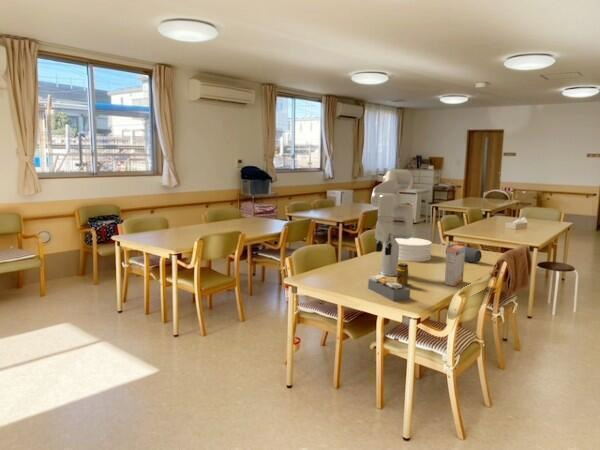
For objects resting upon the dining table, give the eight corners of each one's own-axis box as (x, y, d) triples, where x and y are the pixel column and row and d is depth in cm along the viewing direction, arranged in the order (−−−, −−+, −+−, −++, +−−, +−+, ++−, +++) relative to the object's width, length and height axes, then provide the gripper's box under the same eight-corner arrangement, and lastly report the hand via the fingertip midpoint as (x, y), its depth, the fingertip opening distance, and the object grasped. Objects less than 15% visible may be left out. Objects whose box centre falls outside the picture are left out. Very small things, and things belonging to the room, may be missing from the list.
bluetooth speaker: (444, 258, 322) (445, 244, 320) (452, 256, 327) (453, 243, 326) (473, 264, 304) (474, 250, 302) (481, 263, 309) (482, 248, 308)
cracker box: (453, 279, 266) (455, 244, 263) (463, 281, 263) (466, 246, 259) (443, 284, 256) (446, 248, 252) (454, 286, 252) (457, 249, 249)
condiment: (393, 285, 253) (394, 264, 251) (400, 282, 259) (401, 261, 257) (405, 287, 248) (406, 266, 246) (412, 284, 254) (413, 263, 253)
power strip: (383, 286, 250) (384, 277, 249) (409, 298, 229) (410, 289, 228) (368, 288, 246) (368, 278, 245) (393, 301, 225) (393, 291, 224)
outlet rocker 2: (388, 283, 239) (389, 279, 239) (393, 285, 235) (394, 281, 235) (378, 282, 236) (379, 278, 236) (383, 285, 232) (384, 280, 232)
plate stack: (435, 256, 328) (436, 240, 327) (423, 263, 305) (424, 246, 303) (398, 251, 343) (399, 236, 341) (384, 257, 320) (385, 241, 318)
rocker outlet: (396, 287, 233) (397, 282, 233) (401, 289, 229) (402, 285, 229) (386, 286, 230) (387, 281, 230) (391, 288, 226) (392, 284, 226)
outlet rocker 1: (381, 278, 245) (381, 273, 245) (386, 280, 241) (385, 275, 241) (371, 281, 243) (371, 276, 243) (376, 283, 239) (375, 279, 239)
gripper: (369, 216, 236) (368, 250, 239) (388, 221, 220) (387, 257, 223) (381, 216, 239) (380, 249, 242) (401, 221, 223) (399, 256, 226)
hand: (383, 253), depth 232 cm, fingers open, 7 cm apart
